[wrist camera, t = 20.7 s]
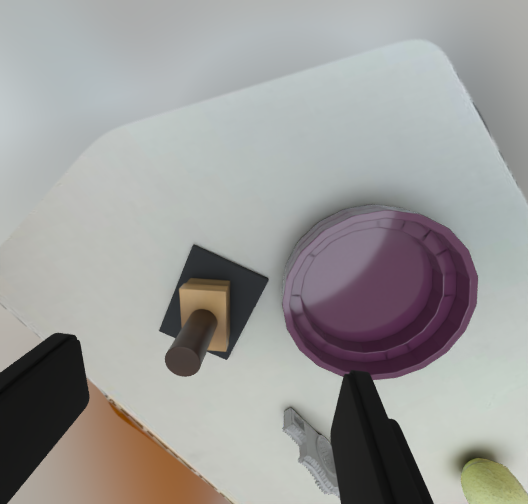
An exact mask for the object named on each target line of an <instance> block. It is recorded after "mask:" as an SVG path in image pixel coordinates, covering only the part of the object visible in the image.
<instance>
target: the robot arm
mask: <svg viewBox="0 0 528 504" xmlns="http://www.w3.org/2000/svg"><path fill="white" fill-rule="evenodd" d="M88 402H89V391H88V386H87V380H86V373H85V368H84V362H83V356H82V350H81V345H80V341H79V340H77V337H76V336H75V335H71V334H63V333H55V334H53V335H51V336H50V337H48V338H47V339H46V340H44V341H43V342H41V343H40V344H39V345H37V346H36V347H35V348H34V349H32V350H31V351H29V352H28V353H26V354H25V355H24V356H22V357H21V358H20V359H18V360H17V361H15V362H14V363H13V364H11V365H10V366H9V367H7V368H6V369H5V370H3V371H2V372H0V504H7V503H8V502H9V501H10V499H11V498H12V497H13V496H14V495H15V493H16V492H17V491H18V490H19V488H20V487H21V486H22V485H23V484H24V482H25V481H26V480H27V479H28V478H29V476H30V475H31V474H32V473H33V471H34V470H35V469H36V468H37V467H38V465H39V464H40V463H41V462H42V460H43V459H44V458H45V457H46V456H47V454H48V453H49V452H50V451H51V449H52V448H53V447H54V446H55V444H56V443H57V442H58V441H59V440H60V438H61V437H62V436H63V435H64V434H65V432H66V431H67V430H68V429H69V427H70V426H71V425H72V424H73V423H74V421H75V420H76V419H77V418H78V416H79V415H80V414H81V413H82V412H83V410H84V409H85V408H86V406H87V404H88ZM331 446H332V452H333V458H334V464H335V470H336V476H337V482H338V488H339V494H340V500H341V504H434V503H433V501H432V498H431V496H430V494H429V491H428V489H427V487H426V485H425V482H424V480H423V478H422V475H421V473H420V471H419V469H418V466H417V464H416V462H415V460H414V457H413V455H412V453H411V450H410V448H409V446H408V444H407V441H406V439H405V437H404V434H403V432H402V430H401V428H400V426H399V424H398V423H397V422H396V421H395V420H393V419H388V417H387V414H386V412H385V409H384V407H383V404H382V402H381V399H380V397H379V394H378V392H377V390H376V387H375V385H374V382H373V380H372V377H371V375H370V373H369V372H365V371H357V370H351V371H350V372H349V374H344V377H343V381H342V385H341V389H340V394H339V398H338V402H337V406H336V410H335V415H334V419H333V423H332V427H331Z"/></svg>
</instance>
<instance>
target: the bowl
mask: <svg viewBox="0 0 528 504" xmlns="http://www.w3.org/2000/svg"><path fill="white" fill-rule="evenodd" d="M477 288H478V275H477V273H476V270H475V267H474V264H473V261H472V258H471V256H470V253H469V250H468V249H467V248H466V247H465V245H464V244H463V243H462V242H461V241H460V240H459V239H458V238H457V237H456V235H455V234H454V233H453V232H452V231H451V230H450V229H449V228H447V227H445V226H443V225H441V224H439V223H437V222H436V221H434V220H432V219H430V218H428V217H426V216H424V215H422V214H419V213H415V212H412V211H409V210H406V209H403V208H398V207H391V206H383V205H375V204H370V205H365V206H359V207H354V208H348V209H344V210H341V211H339V212H337V213H335V214H334V215H332V216H330V217H328V218H326V219H324V220H322V221H320V222H318V223H317V224H316V225H315V226H314V227H313V228H312V229H311V230H310V231H309V232H307V233H306V234H305V235H304V236H303V237H302V238H301V239H300V240H299V241H298V242H297V244H296V246H295V248H294V250H293V252H292V254H291V256H290V257H289V259H288V261H287V263H286V266H285V272H284V279H283V285H282V306H283V311H284V317H285V322H286V327H287V330H288V332H289V333H290V335H291V337H292V338H293V340H294V342H295V343H296V345H297V347H298V348H299V350H300V351H301V352H302V353H304V354H305V355H306V356H307V357H308V358H309V359H311V360H312V361H313V362H314V363H315V364H316V365H318V366H319V367H322V368H324V369H326V370H328V371H331V372H333V373H335V374H338V375H340V376H342V377H344V374H349V372H350V371H351V370H357V371H365V372H369V373H370V375H371V377H372V380H380V379H389V378H396V377H400V376H403V375H406V374H408V373H411V372H414V371H417V370H420V369H422V368H424V367H426V366H427V365H429V364H430V363H432V362H433V361H435V360H436V359H438V358H439V357H441V356H442V355H444V354H445V353H447V352H448V351H449V349H450V348H451V347H452V346H453V345H454V344H455V342H456V341H457V340H458V339H459V338H460V337H461V335H462V334H463V333H464V332H465V330H466V329H467V326H468V324H469V322H470V319H471V317H472V314H473V312H474V310H475V307H476V304H477Z"/></svg>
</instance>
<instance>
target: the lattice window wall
mask: <svg viewBox="0 0 528 504" xmlns="http://www.w3.org/2000/svg"><path fill="white" fill-rule="evenodd" d="M282 429H283V432H285V433H287V434H288V435H289V436H290V437H292V440H294V442H296V444H298V446H299V450H300V458H298V462H299V463H300V464H302V465H304V466H306V468H308V471H310V474H312V476H314V480H316V482H315V483H316V484H317V486H319V489H321V491H322V492H323V491H324V494H328V495H329V494H334V495H336V496H338V498H340V494H339V488H338V482H337V476H336V470H335V464H334V458H333V452H332V446H331V444H330V443H329V441H328V440H327V439H326V438H325V437H324V436H322V435H319V434H318V433H317V432H316V431H315V430H314V429H313V428H311V427H310V426H309V425H308V424H307V423H306V422H305V421H304V420H303V419H302V418H301V417H300V416H299V415H298V414H297V413H296V412H295V411H294V410H293V409H292V408H289V409H287V410H286V411H284V427H283V428H282ZM324 459H325V460H324Z"/></svg>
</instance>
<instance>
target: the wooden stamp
mask: <svg viewBox="0 0 528 504" xmlns="http://www.w3.org/2000/svg"><path fill="white" fill-rule="evenodd" d="M179 294H180V309H181V325H182V329H181V331H180V332H179V334H178V336H177V337H176V339H175V340H174V342H173V344H172V345H171V347H170V348H169V350H168V352H167V353H166V356H165V363H166V366H167V367H168V369H169V370H170V371H171V372H173V373H174V374H176V375H179V376H185V377H186V376H191V375H194V374H195V373H197V372H198V370H199V369H200V366H201V364H202V362H203V359H204V357H205V354H206V352H207V350H211V351H224V352H226V351H227V347H228V344H229V336H230V281H228V280H212V279H197V278H190V279H189V280H188V282H187V283H184V284H183V285H182V286H181V287H180V288H179Z"/></svg>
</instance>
